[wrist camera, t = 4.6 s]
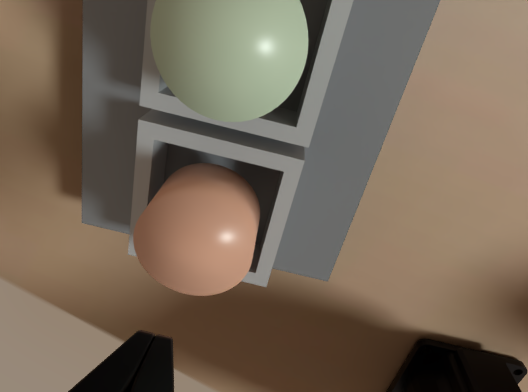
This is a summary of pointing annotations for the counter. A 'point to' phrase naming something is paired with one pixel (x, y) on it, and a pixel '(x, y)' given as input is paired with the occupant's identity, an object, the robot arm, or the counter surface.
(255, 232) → the terracotta button
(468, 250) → the counter surface
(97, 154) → the button panel
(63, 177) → the counter surface
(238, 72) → the sage button
